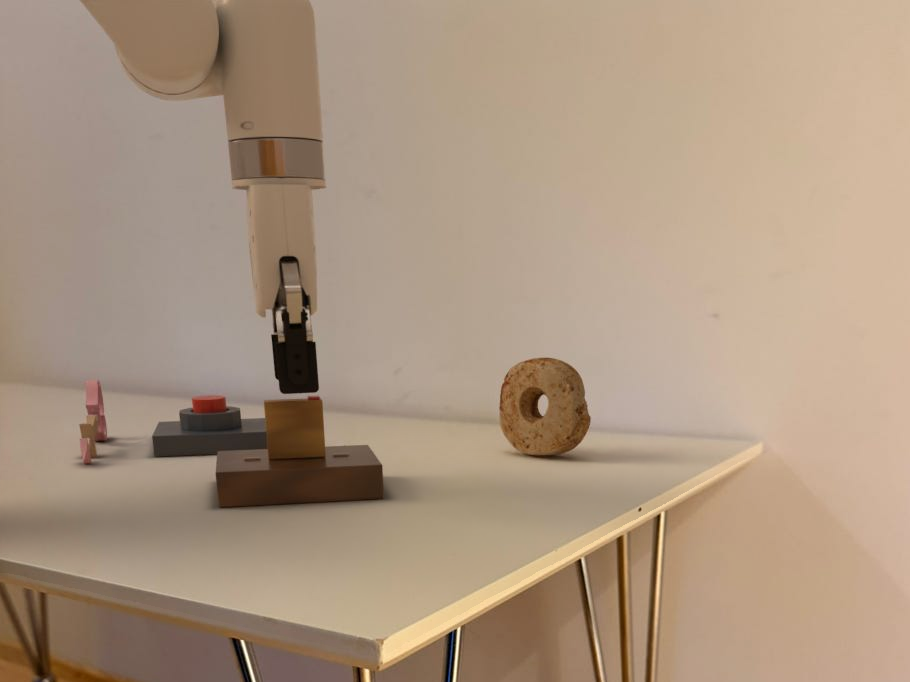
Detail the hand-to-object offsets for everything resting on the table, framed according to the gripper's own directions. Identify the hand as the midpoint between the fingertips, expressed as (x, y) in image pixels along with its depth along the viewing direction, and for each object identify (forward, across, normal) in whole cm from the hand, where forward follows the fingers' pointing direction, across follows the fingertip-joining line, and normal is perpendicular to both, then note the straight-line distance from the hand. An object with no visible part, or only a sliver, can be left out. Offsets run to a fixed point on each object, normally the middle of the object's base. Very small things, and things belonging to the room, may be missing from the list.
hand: (296, 385), depth 86 cm
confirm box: (+9, -25, -8) cm, 28 cm away
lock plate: (+9, 0, 0) cm, 9 cm away
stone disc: (+10, -11, +26) cm, 29 cm away
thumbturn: (+6, 0, 0) cm, 6 cm away
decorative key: (+9, -25, -21) cm, 34 cm away
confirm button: (+6, -25, -8) cm, 27 cm away
